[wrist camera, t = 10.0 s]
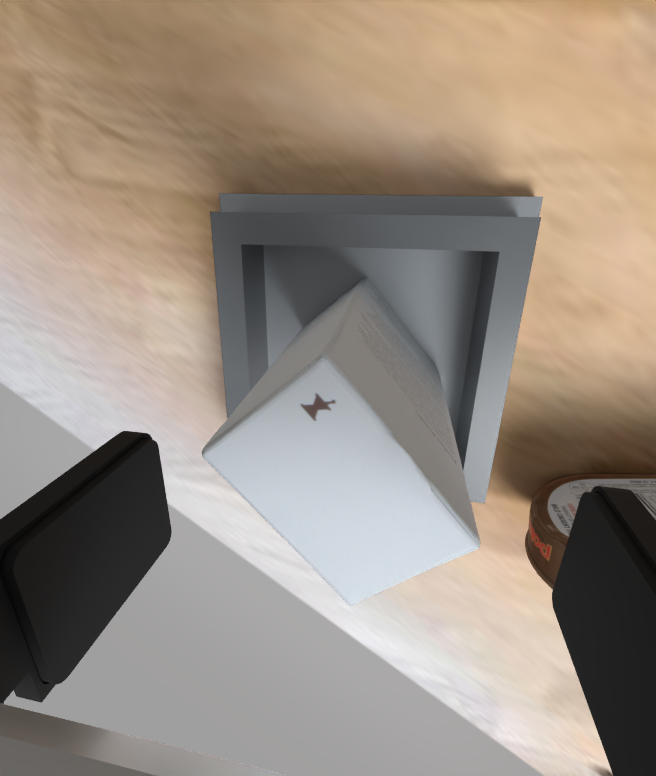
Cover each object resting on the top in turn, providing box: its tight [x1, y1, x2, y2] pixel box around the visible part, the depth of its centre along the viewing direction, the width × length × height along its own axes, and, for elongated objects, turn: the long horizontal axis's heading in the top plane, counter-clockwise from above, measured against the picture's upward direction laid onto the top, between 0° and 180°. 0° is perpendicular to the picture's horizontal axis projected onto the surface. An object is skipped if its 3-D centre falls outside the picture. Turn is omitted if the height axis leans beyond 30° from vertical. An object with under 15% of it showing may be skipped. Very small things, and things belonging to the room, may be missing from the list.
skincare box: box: [202, 277, 480, 605], centre depth 15 cm, size 6×4×12 cm
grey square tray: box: [210, 193, 543, 503], centre depth 20 cm, size 14×14×4 cm
